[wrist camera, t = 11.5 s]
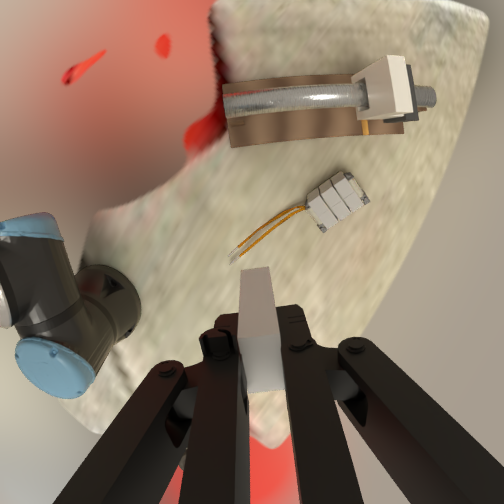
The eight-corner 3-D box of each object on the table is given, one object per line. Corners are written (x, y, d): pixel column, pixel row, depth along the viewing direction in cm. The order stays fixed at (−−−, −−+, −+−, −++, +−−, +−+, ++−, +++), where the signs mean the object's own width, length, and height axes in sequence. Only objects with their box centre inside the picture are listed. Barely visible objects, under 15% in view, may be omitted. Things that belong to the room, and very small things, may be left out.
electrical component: (250, 271, 58) (246, 285, 53) (229, 246, 56) (222, 259, 52) (365, 193, 49) (371, 202, 44) (344, 163, 47) (349, 169, 43)
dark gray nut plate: (383, 123, 39) (406, 120, 32) (376, 74, 36) (397, 63, 30) (394, 122, 38) (418, 120, 32) (387, 74, 36) (410, 64, 30)
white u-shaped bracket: (357, 119, 38) (396, 112, 27) (350, 76, 36) (386, 54, 25) (384, 119, 38) (429, 112, 26) (378, 77, 36) (420, 57, 25)
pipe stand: (231, 148, 48) (227, 147, 38) (222, 86, 45) (216, 71, 35) (400, 133, 47) (432, 133, 37) (392, 76, 44) (422, 64, 34)
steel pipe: (227, 120, 37) (225, 118, 34) (223, 95, 36) (221, 91, 33) (426, 109, 36) (438, 107, 33) (422, 86, 35) (434, 83, 32)
